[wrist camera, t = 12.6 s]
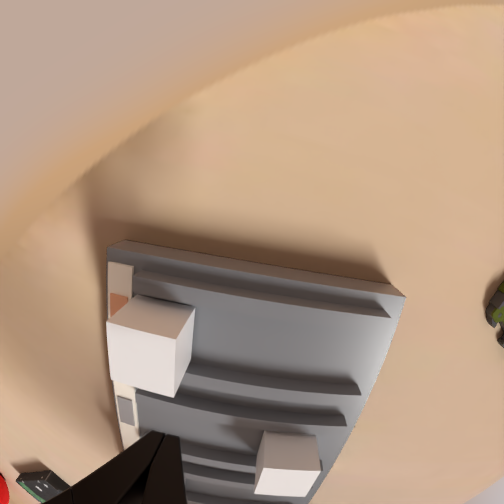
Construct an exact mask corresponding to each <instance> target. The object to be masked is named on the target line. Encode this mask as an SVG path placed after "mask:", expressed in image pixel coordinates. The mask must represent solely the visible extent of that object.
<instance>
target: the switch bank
mask: <svg viewBox="0 0 504 504" xmlns="http://www.w3.org/2000/svg"><path fill="white" fill-rule="evenodd" d="M106 294H107V320H108V319H109V318H111V317H112V316H113V315H114V314H115V313H116V312H117V311H118V310H120V309H121V308H122V307H123V306H124V305H125V304H127V303H128V302H129V301H130V300H131V299H132V298H133V297H135V296H136V295H141V296H146V297H150V298H155V299H159V300H164V301H169V302H173V303H178V304H183V305H188V306H193V307H195V317H194V328H193V339H192V352H191V360H190V363H189V365H188V367H187V369H186V372H185V374H184V376H183V378H182V381H181V383H180V385H179V387H178V390H177V392H176V394H175V396H174V398H173V397H169V396H165V395H161V394H157V393H154V392H150V391H146V390H143V389H140V388H136V387H133V386H130V385H126V384H123V383H120V382H117V381H114V380H112V384H113V392H114V399H115V406H116V413H117V419H118V425H119V430H120V435H121V441H122V445H123V450H125V449H127V448H128V447H129V446H131V445H132V444H133V443H135V442H136V441H137V440H139V439H140V438H141V437H143V436H144V435H145V434H147V433H148V432H149V431H151V430H157V431H161V432H164V433H165V434H172V435H176V436H179V437H180V443H181V454H182V463H183V472H184V478H185V488H186V495H187V502H188V504H308V503H309V502H310V500H311V499H312V497H313V496H314V494H315V493H316V491H317V490H318V488H319V487H320V485H321V484H322V482H323V480H324V479H325V477H326V476H327V474H328V472H329V471H330V469H331V467H332V466H333V464H334V462H335V461H336V459H337V457H338V455H339V454H340V452H341V450H342V448H343V447H344V445H345V443H346V441H347V439H348V437H349V435H350V434H351V432H352V430H353V428H354V426H355V424H356V422H357V420H358V418H359V416H360V414H361V412H362V410H363V408H364V406H365V403H366V401H367V399H368V397H369V395H370V392H371V390H372V388H373V386H374V383H375V381H376V379H377V376H378V374H379V372H380V369H381V367H382V364H383V362H384V359H385V357H386V354H387V352H388V349H389V346H390V344H391V341H392V338H393V335H394V333H395V330H396V327H397V324H398V321H399V318H400V315H401V312H402V309H403V306H404V302H405V299H406V297H405V296H404V295H403V294H402V293H401V292H400V291H399V290H398V289H396V288H395V287H394V286H393V285H391V284H385V283H379V282H372V281H366V280H360V279H353V278H347V277H341V276H335V275H328V274H322V273H316V272H310V271H304V270H298V269H292V268H286V267H280V266H274V265H268V264H262V263H256V262H250V261H244V260H238V259H232V258H226V257H220V256H214V255H209V254H203V253H197V252H191V251H185V250H180V249H174V248H168V247H162V246H157V245H151V244H145V243H140V242H134V241H129V240H123V241H120V242H118V243H116V244H113V245H111V246H108V247H107V271H106ZM264 430H266V431H275V432H285V433H297V434H312V435H316V439H317V446H318V453H319V460H320V468H321V472H320V473H319V475H318V477H317V479H316V480H315V482H314V483H313V485H312V487H311V488H310V490H309V492H308V493H307V495H306V496H305V497H294V496H275V495H263V494H254V487H255V473H256V459H257V453H258V450H259V446H260V443H261V440H262V436H263V433H264Z"/></svg>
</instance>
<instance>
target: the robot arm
mask: <svg viewBox="0 0 504 504" xmlns="http://www.w3.org/2000/svg"><path fill="white" fill-rule="evenodd" d="M41 504H188V502H187V495H186V488H185V480H184V472H183V463H182V454H181V443H180V437H179V436H176V435H172V434H165V433H164V432H161V431H157V430H151V431H149V432H148V433H147V434H145V435H144V436H143V437H141V438H140V439H139V440H137V441H136V442H135V443H133V444H132V445H131V446H129V447H128V448H127V449H125V450H124V451H123V452H121V453H120V454H118V455H117V456H116V457H114V458H113V459H111V460H110V461H108V462H107V463H106V464H104V465H103V466H101V467H100V468H98V469H97V470H95V471H94V472H93V473H91V474H90V475H88V476H87V477H85V478H84V479H82V480H81V481H79V482H77V483H76V484H74V485H73V486H71V488H68V489H66V490H65V491H63V492H62V493H60V494H58V495H57V496H55V497H53V498H51V499H49V500H48V501H45V502H43V503H41Z"/></svg>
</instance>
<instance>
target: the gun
mask: <svg viewBox="0 0 504 504" xmlns="http://www.w3.org/2000/svg"><path fill="white" fill-rule="evenodd" d="M489 303H490V304H489V306H488V307H487V308H486V313H487V322H488V323H489V324H490V325H491V326H492V327H493V328H495V327H496V325H497V323H498V322H500V324H501V325H500V326H502V327H501V328H503V329H502V330H503V332H504V281H503V283H502V284H501V285H500V286H499V288H498V291H497V292H496V293H495V295H494V296H493V297H492V299H491V300H490V301H489ZM498 343H499V344H500V345H501V346H502V347H503V348H504V334H503V336H502V337H501V338H499V339H498Z"/></svg>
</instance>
